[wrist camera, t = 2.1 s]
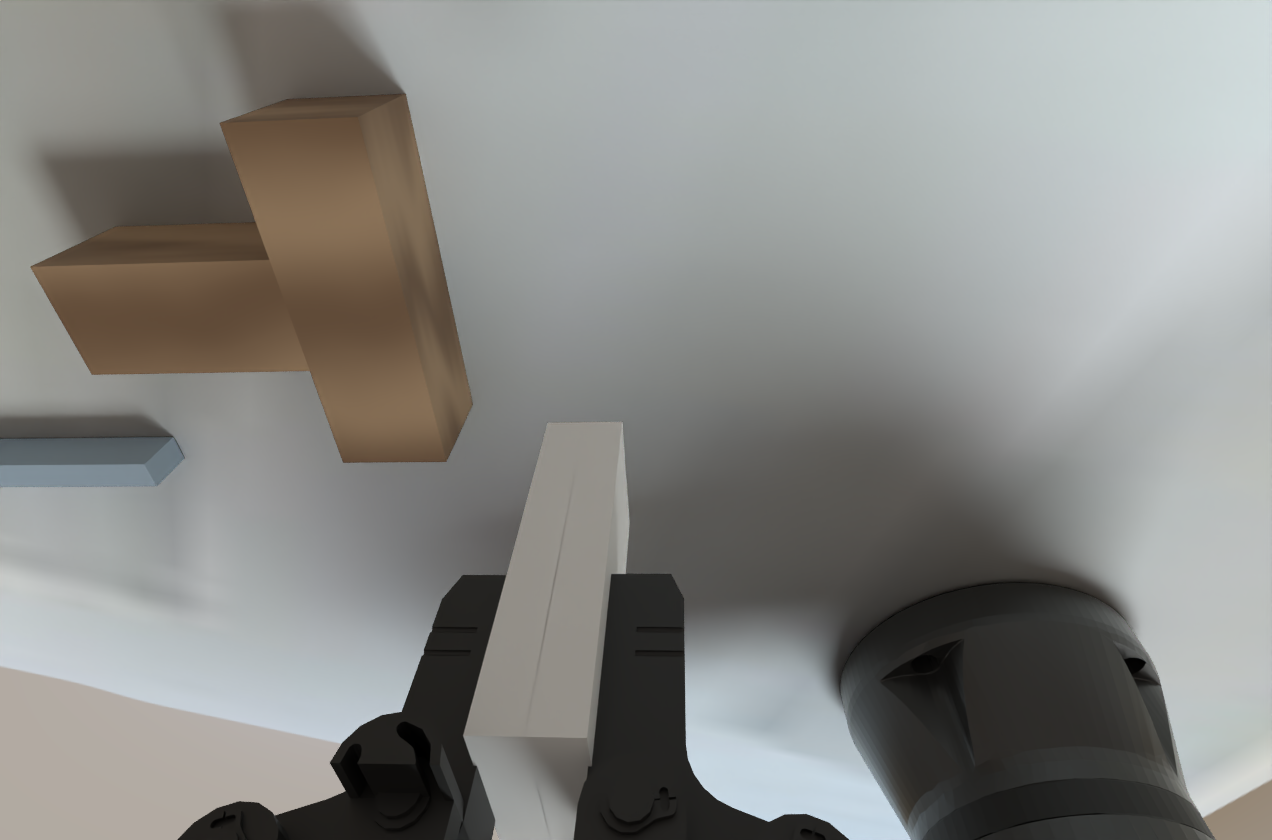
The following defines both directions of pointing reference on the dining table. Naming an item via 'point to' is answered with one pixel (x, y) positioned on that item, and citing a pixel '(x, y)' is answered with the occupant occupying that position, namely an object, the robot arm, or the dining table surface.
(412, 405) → the t block
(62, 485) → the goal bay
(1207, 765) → the dining table surface
